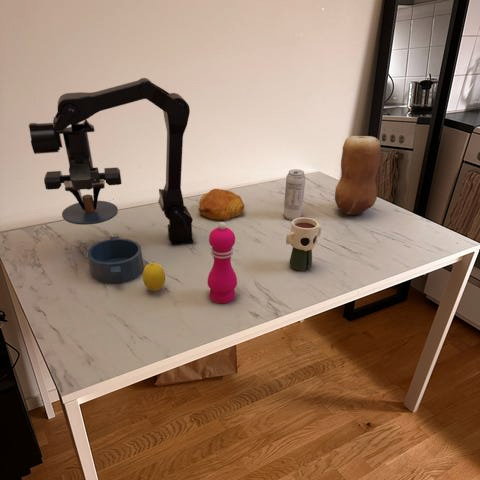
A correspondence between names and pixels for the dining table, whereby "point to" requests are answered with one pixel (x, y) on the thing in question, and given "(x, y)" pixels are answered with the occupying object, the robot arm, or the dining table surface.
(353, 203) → the butternut squash
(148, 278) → the lemon
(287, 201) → the energy drink can
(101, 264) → the pot
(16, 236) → the dining table surface
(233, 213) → the croissant
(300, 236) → the character mug
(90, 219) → the pot lid
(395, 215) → the dining table surface
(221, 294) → the pepper mill
